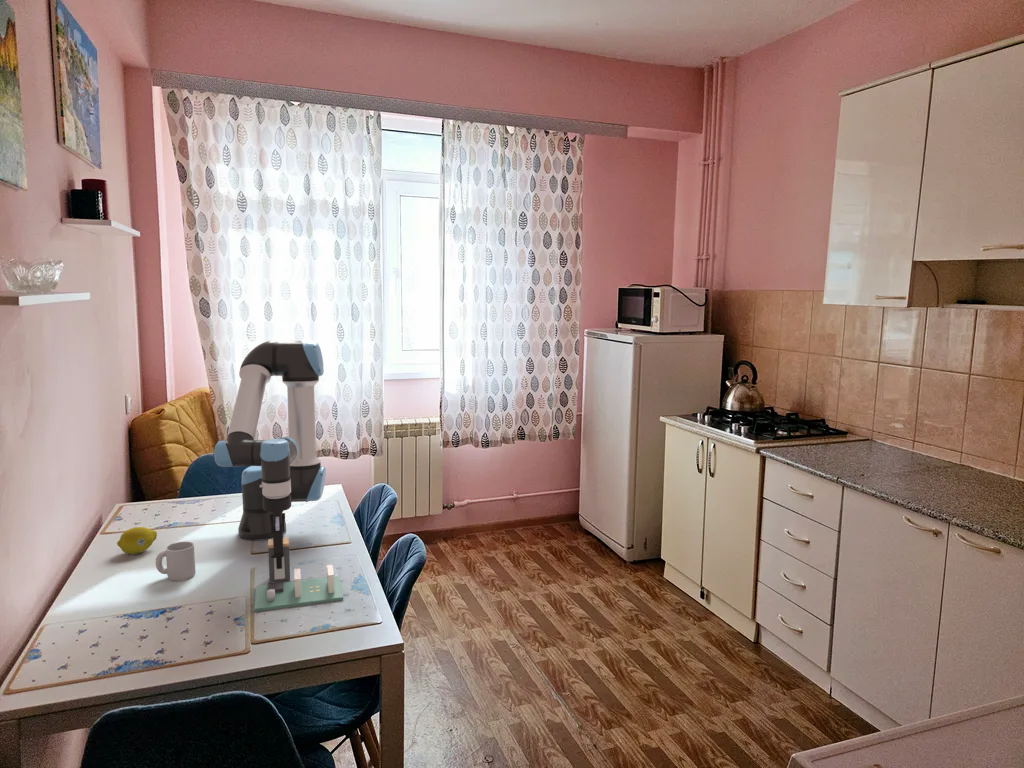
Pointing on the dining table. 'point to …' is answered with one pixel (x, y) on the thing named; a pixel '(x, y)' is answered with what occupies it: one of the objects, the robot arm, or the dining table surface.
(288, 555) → the plug
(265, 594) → the board
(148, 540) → the lemon
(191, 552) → the cup
